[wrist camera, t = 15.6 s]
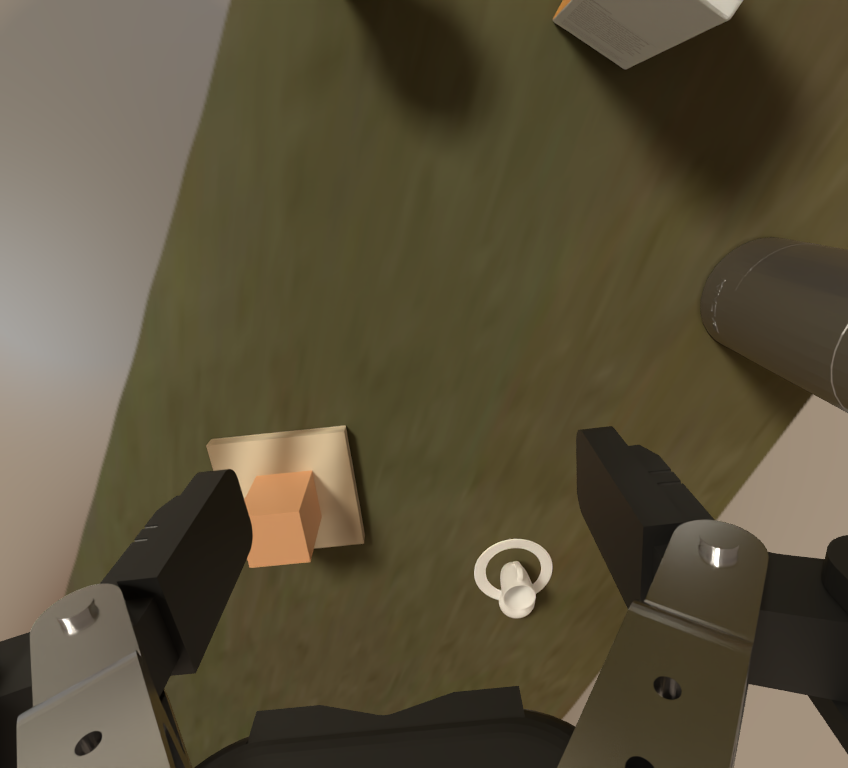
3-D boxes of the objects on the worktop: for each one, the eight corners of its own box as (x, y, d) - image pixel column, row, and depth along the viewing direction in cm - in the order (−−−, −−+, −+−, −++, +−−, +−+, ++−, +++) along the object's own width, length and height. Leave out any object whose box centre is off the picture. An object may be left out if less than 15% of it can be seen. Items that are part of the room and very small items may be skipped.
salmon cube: (312, 470, 46) (298, 511, 40) (321, 516, 48) (310, 561, 42) (256, 476, 46) (235, 517, 40) (268, 522, 48) (249, 567, 42)
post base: (345, 425, 45) (338, 455, 41) (364, 535, 50) (360, 573, 45) (211, 439, 46) (188, 470, 41) (242, 547, 50) (224, 587, 45)
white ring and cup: (528, 610, 55) (537, 642, 51) (459, 592, 54) (462, 623, 50) (564, 547, 52) (576, 577, 48) (492, 526, 51) (498, 555, 47)
